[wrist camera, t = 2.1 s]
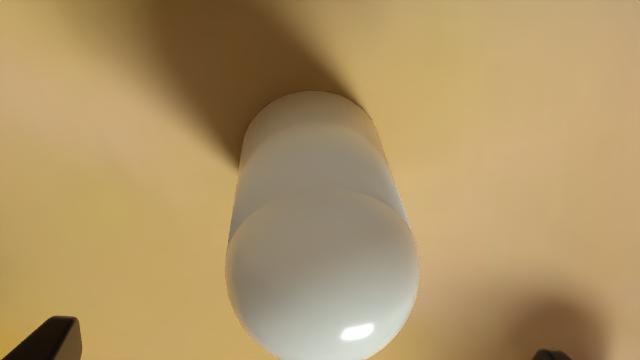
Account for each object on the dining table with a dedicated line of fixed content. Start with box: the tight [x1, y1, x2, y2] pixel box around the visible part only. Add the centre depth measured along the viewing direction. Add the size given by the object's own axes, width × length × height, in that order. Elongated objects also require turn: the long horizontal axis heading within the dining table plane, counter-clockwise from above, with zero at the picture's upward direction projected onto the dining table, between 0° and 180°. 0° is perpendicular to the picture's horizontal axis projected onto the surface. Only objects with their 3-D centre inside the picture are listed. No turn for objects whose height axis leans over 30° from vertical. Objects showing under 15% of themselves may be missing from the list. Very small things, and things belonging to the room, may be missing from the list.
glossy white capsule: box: [225, 91, 420, 360], centre depth 12 cm, size 4×4×7 cm
